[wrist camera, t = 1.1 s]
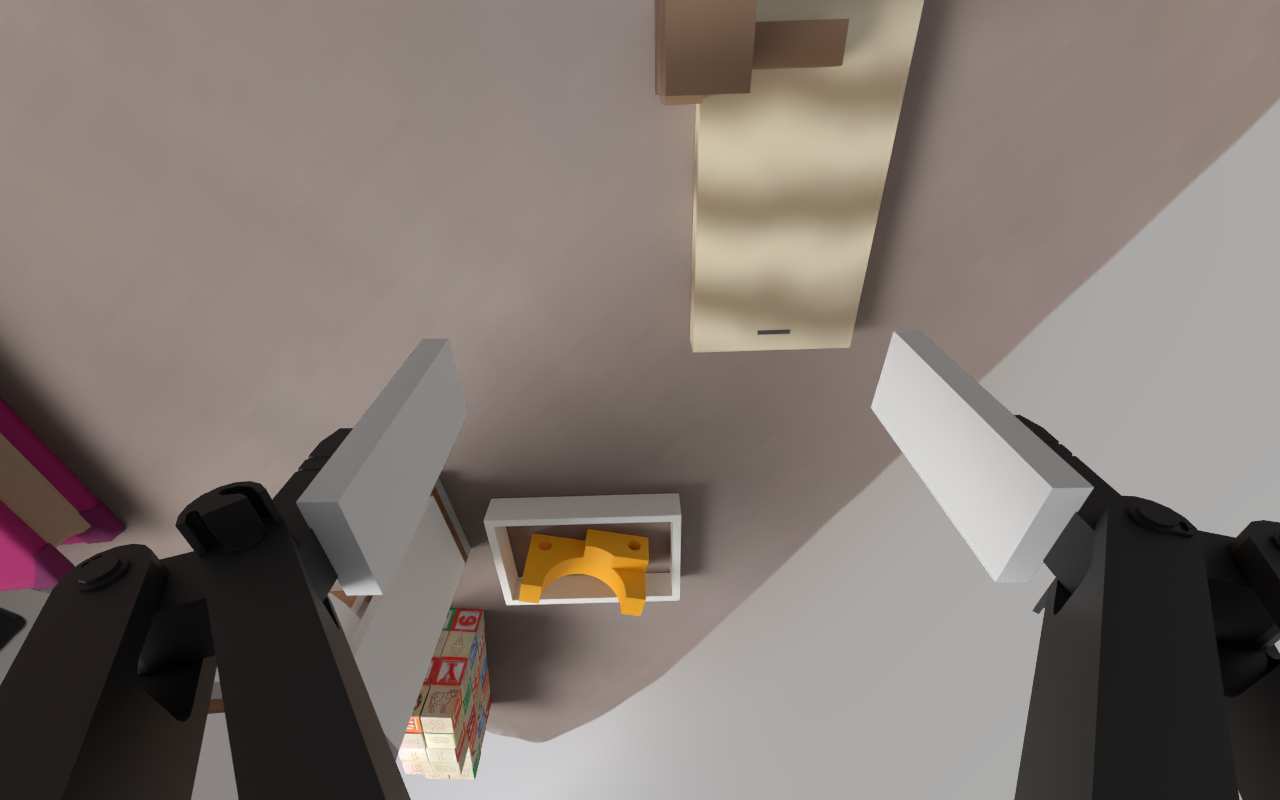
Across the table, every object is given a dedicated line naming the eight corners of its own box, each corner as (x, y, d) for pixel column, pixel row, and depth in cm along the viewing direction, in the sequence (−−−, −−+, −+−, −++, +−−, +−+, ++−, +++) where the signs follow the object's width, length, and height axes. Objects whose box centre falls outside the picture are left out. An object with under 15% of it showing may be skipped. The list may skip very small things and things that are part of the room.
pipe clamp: (648, 536, 53) (649, 588, 47) (639, 563, 55) (640, 615, 49) (534, 520, 51) (522, 571, 46) (530, 548, 53) (518, 601, 48)
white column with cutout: (436, 472, 47) (105, 1112, 18) (470, 548, 53) (263, 1132, 23) (322, 484, 48) (-181, 1122, 18) (368, 558, 54) (39, 1138, 24)
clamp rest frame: (491, 498, 49) (483, 520, 47) (678, 493, 49) (681, 515, 47) (512, 581, 56) (506, 605, 53) (677, 577, 56) (679, 600, 53)
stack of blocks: (492, 703, 70) (468, 810, 59) (447, 701, 69) (414, 809, 59) (483, 608, 59) (451, 720, 48) (429, 605, 58) (385, 717, 48)
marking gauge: (650, 1, 28) (665, -75, 15) (825, -5, 28) (990, -87, 15) (652, 102, 31) (665, 112, 18) (812, 97, 31) (942, 102, 18)
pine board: (699, -10, 29) (704, -19, 26) (907, -18, 29) (930, -27, 26) (689, 338, 40) (693, 352, 38) (838, 334, 40) (850, 347, 38)
